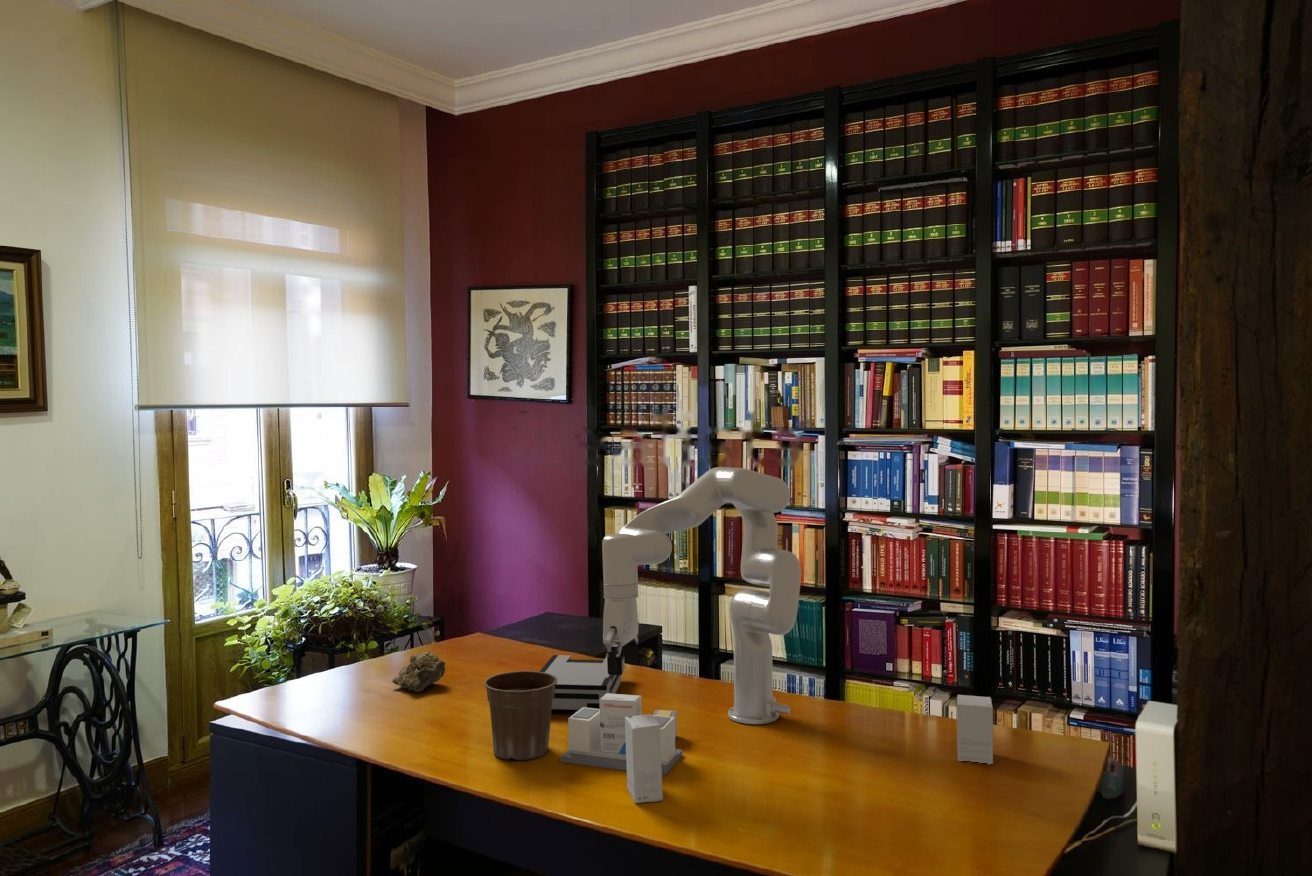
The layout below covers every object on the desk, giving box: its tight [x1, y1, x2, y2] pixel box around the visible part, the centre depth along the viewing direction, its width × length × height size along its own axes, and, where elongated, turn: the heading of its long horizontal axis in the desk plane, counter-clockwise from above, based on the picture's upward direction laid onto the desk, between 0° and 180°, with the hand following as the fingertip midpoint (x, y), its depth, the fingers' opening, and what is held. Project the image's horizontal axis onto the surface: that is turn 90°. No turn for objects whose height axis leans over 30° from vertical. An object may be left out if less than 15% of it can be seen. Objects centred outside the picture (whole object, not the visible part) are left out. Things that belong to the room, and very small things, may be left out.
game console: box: [538, 654, 626, 713], centre depth 241 cm, size 21×32×8 cm, turn 174°
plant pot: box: [483, 670, 558, 761], centre depth 201 cm, size 16×16×16 cm
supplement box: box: [956, 694, 994, 765], centre depth 195 cm, size 7×7×13 cm
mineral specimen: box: [391, 651, 446, 693], centre depth 250 cm, size 14×13×10 cm
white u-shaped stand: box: [559, 707, 683, 777], centre depth 196 cm, size 24×12×9 cm, turn 71°
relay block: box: [652, 709, 678, 738], centre depth 208 cm, size 5×6×6 cm
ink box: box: [599, 693, 643, 754], centre depth 196 cm, size 9×5×12 cm, turn 75°
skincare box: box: [625, 713, 664, 804], centre depth 177 cm, size 8×6×15 cm
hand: (623, 668), depth 196 cm, fingers open, 9 cm apart
